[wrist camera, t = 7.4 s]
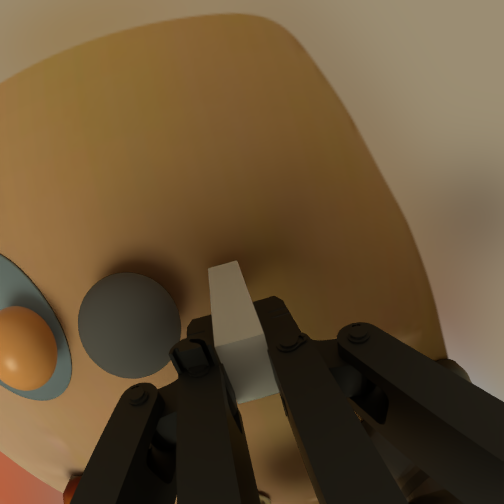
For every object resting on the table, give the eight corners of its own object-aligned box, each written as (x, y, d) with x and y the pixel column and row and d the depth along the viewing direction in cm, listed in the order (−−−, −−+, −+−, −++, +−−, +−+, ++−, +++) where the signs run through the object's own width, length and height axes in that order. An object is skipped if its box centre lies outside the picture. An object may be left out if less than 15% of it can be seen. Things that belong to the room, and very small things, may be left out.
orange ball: (41, 362, 10) (-21, 393, 8) (81, 380, 15) (26, 405, 13) (21, 277, 13) (-35, 311, 10) (57, 312, 17) (7, 339, 15)
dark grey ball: (82, 395, 9) (59, 335, 13) (179, 401, 13) (136, 351, 17) (118, 279, 10) (87, 246, 13) (218, 310, 14) (165, 276, 17)
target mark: (84, 299, 15) (83, 301, 15) (67, 420, 18) (67, 421, 18) (-50, 219, 11) (-52, 220, 11) (-43, 351, 14) (-43, 352, 14)
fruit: (43, 467, 18) (63, 521, 13) (96, 456, 24) (123, 507, 18) (66, 493, 21) (88, 538, 15) (112, 482, 26) (138, 525, 20)
